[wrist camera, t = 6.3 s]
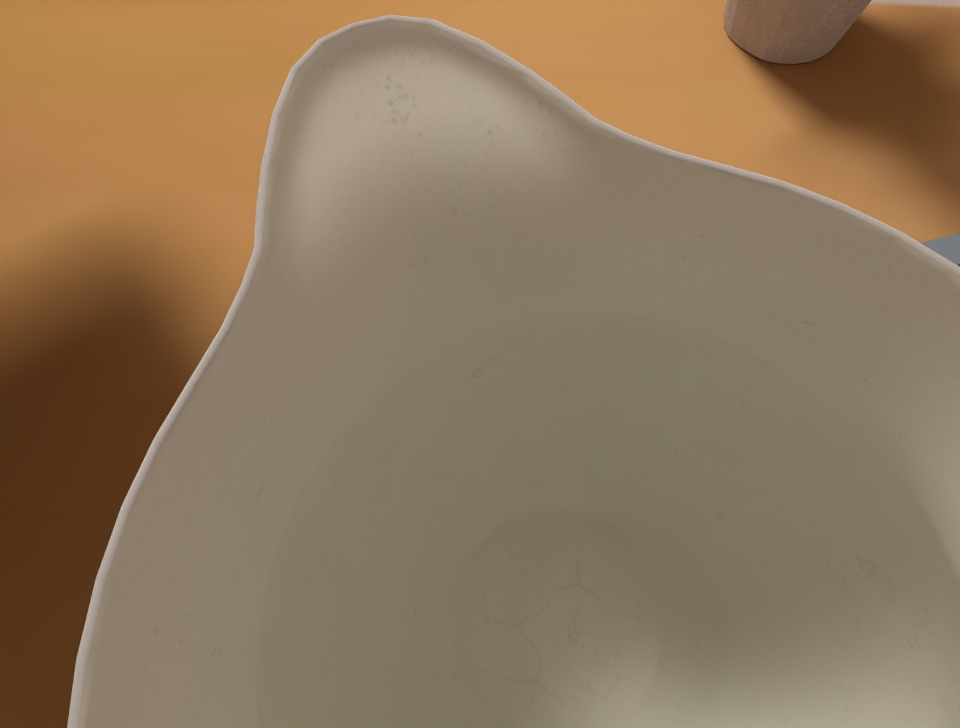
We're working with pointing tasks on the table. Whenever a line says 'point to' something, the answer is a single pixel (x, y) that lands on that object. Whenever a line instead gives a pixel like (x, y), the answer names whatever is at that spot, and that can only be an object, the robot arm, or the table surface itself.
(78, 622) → the table surface
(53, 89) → the table surface
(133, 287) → the table surface
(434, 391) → the pitcher
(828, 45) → the house plant
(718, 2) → the table surface
